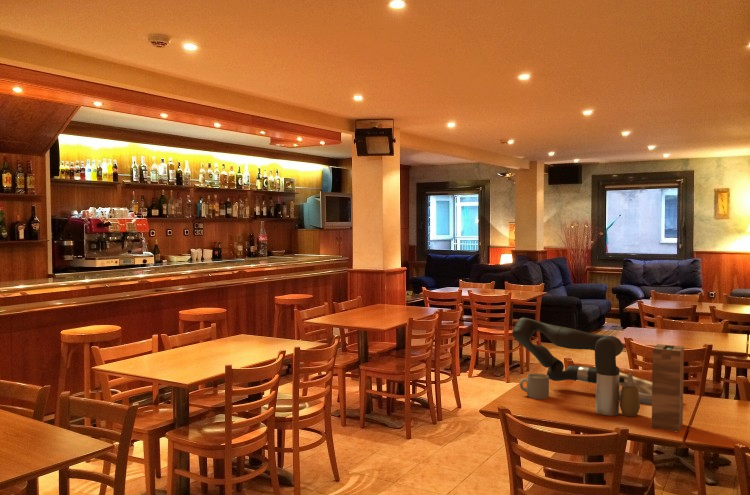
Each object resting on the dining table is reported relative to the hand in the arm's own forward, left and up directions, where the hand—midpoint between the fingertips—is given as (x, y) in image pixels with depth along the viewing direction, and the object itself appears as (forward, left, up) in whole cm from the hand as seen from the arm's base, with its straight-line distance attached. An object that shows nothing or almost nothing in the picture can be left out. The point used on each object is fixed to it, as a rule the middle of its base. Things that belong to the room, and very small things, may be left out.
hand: (625, 379), depth 297 cm
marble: (+10, -37, +19) cm, 43 cm away
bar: (+6, -3, -4) cm, 8 cm away
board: (+10, -2, -9) cm, 14 cm away
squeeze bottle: (-3, -27, -9) cm, 29 cm away
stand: (+9, -40, -9) cm, 42 cm away
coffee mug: (-42, -4, -9) cm, 43 cm away
